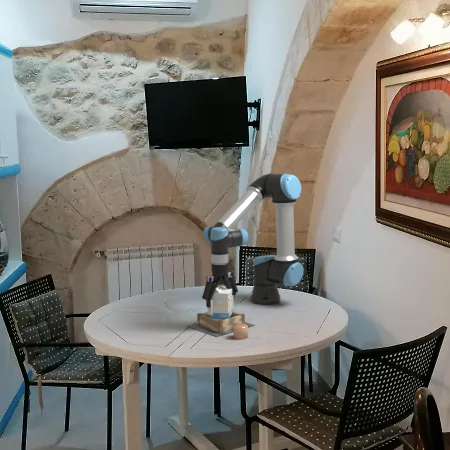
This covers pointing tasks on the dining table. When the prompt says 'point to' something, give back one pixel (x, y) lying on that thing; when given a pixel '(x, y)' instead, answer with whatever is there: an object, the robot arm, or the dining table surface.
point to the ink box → (222, 303)
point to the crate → (218, 324)
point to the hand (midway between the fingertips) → (220, 311)
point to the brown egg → (240, 331)
